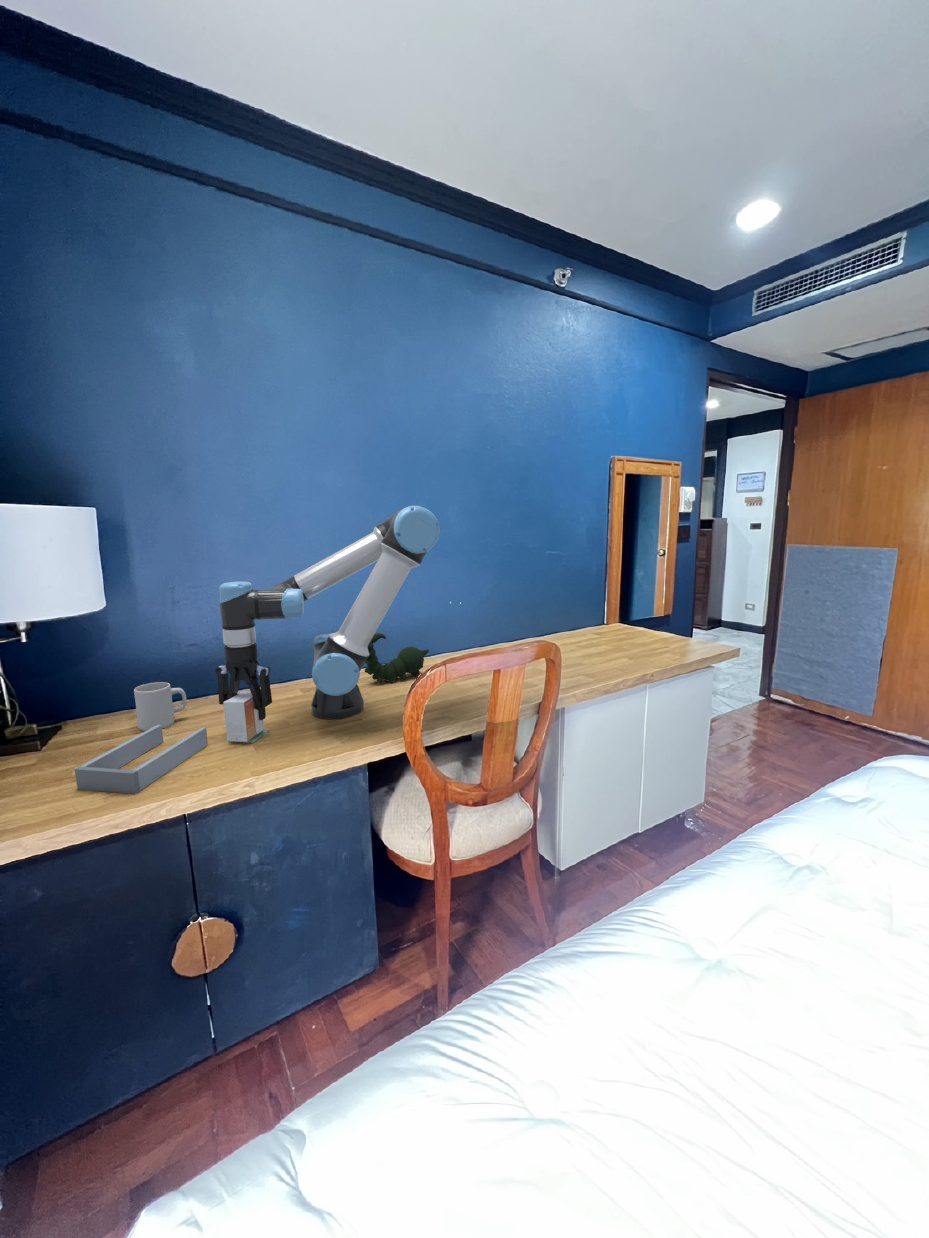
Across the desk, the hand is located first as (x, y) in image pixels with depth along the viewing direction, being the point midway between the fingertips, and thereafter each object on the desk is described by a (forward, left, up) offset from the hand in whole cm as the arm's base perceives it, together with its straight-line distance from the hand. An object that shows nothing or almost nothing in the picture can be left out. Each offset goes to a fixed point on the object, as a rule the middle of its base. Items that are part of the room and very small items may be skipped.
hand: (248, 730), depth 129 cm
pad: (0, 0, -2) cm, 2 cm away
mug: (+28, -5, -2) cm, 29 cm away
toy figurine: (-26, -52, -2) cm, 58 cm away
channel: (+14, +17, -2) cm, 22 cm away
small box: (0, +1, -1) cm, 2 cm away
